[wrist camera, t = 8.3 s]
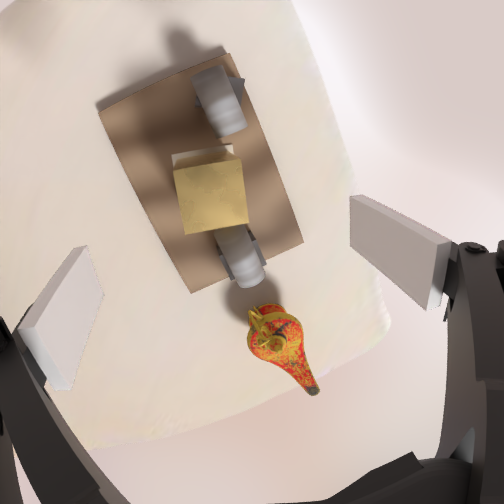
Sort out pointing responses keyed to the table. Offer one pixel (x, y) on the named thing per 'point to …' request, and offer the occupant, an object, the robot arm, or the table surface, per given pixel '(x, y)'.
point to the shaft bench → (198, 143)
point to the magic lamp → (280, 343)
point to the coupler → (210, 191)
